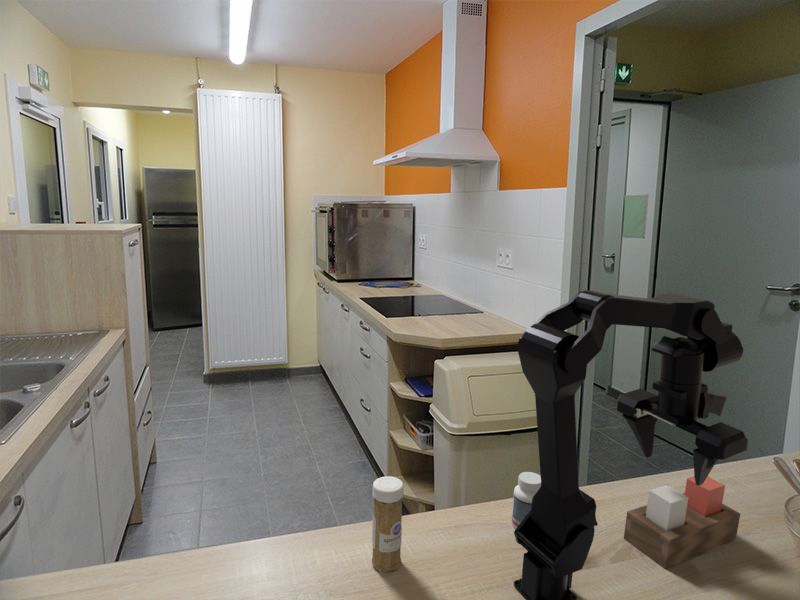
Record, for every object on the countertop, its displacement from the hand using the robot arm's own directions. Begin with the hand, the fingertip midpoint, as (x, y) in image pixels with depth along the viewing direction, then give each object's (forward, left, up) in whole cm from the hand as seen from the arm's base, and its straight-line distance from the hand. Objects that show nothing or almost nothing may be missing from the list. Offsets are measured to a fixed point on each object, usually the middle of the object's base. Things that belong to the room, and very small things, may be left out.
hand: (672, 470), depth 86 cm
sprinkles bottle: (-43, +14, -14) cm, 47 cm away
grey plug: (0, 0, -9) cm, 9 cm away
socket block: (+4, 0, -14) cm, 14 cm away
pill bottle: (-17, +13, -14) cm, 25 cm away
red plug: (+9, 0, -9) cm, 13 cm away
